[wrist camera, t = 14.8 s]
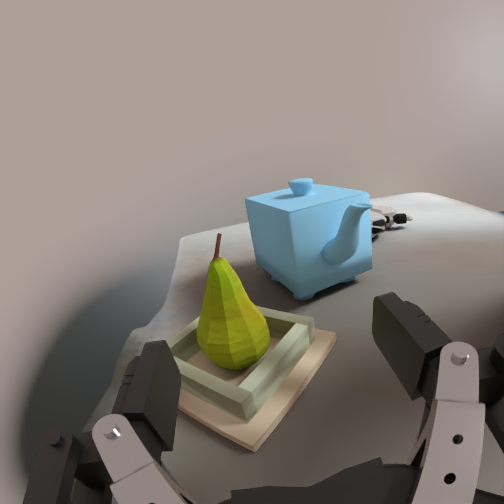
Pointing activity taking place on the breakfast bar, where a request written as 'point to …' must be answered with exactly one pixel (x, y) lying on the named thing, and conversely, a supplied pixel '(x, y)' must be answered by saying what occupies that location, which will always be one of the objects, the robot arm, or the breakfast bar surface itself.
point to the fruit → (230, 319)
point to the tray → (250, 378)
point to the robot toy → (385, 219)
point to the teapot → (311, 235)
